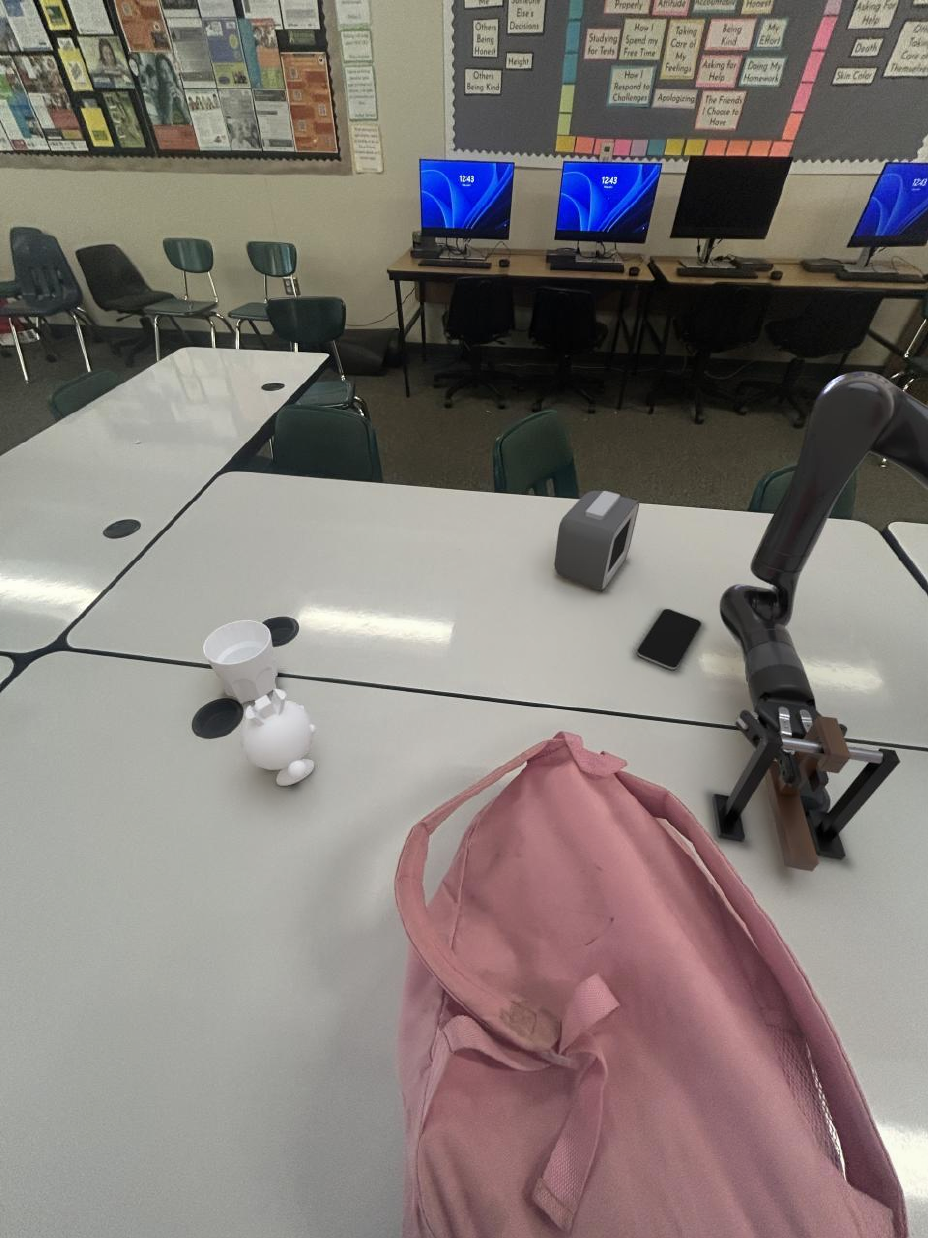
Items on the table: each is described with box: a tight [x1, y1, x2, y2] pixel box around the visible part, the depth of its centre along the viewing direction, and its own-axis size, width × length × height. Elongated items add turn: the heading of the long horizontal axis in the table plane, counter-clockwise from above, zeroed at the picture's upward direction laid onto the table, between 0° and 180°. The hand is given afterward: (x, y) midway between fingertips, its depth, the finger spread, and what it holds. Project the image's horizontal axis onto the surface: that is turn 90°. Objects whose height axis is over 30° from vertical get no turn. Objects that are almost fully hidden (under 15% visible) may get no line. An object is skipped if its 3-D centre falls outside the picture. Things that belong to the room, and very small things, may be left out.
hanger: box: [763, 715, 851, 872], centre depth 67 cm, size 3×14×15 cm, turn 169°
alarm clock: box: [553, 490, 640, 592], centre depth 114 cm, size 16×11×16 cm
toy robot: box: [239, 688, 317, 787], centre depth 77 cm, size 15×10×15 cm, turn 36°
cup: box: [202, 619, 279, 704], centre depth 91 cm, size 10×10×10 cm
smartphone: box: [636, 608, 702, 670], centre depth 102 cm, size 7×1×15 cm
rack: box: [712, 731, 901, 860], centre depth 69 cm, size 15×6×18 cm, turn 79°
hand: (807, 786), depth 67 cm, fingers closed on hanger, 2 cm apart
